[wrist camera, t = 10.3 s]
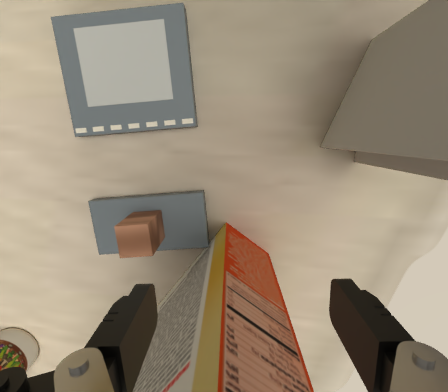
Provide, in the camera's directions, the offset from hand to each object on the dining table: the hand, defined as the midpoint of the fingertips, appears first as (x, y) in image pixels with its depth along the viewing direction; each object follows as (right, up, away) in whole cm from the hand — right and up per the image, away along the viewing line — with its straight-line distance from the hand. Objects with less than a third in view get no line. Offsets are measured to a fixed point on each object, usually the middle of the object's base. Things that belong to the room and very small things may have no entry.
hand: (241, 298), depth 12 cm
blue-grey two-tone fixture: (-11, +1, +26) cm, 29 cm away
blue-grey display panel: (-13, +20, +22) cm, 33 cm away
